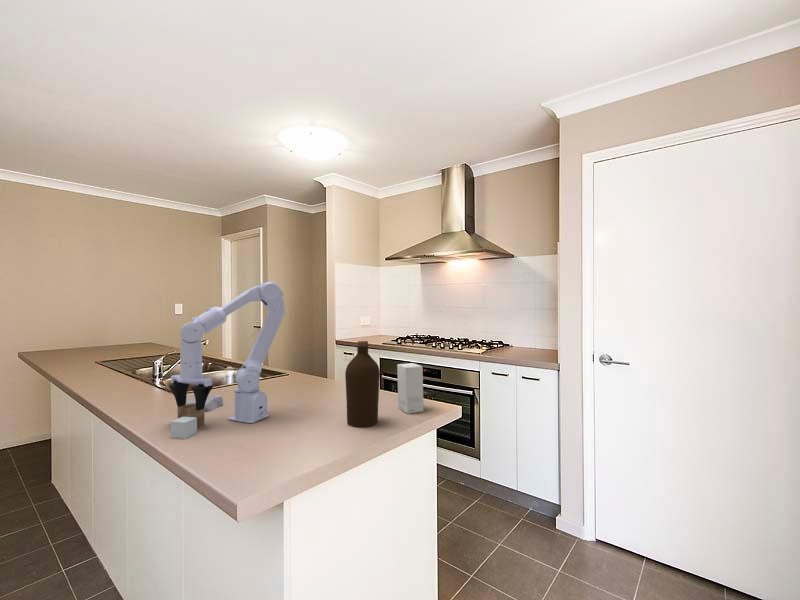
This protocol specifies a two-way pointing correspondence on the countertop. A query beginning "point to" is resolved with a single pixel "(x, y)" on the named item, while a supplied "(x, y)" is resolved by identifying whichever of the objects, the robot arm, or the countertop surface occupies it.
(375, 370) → the olive oil
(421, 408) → the skincare box
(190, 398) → the stone block
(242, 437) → the countertop surface
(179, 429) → the blue-grey block
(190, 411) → the walnut block
